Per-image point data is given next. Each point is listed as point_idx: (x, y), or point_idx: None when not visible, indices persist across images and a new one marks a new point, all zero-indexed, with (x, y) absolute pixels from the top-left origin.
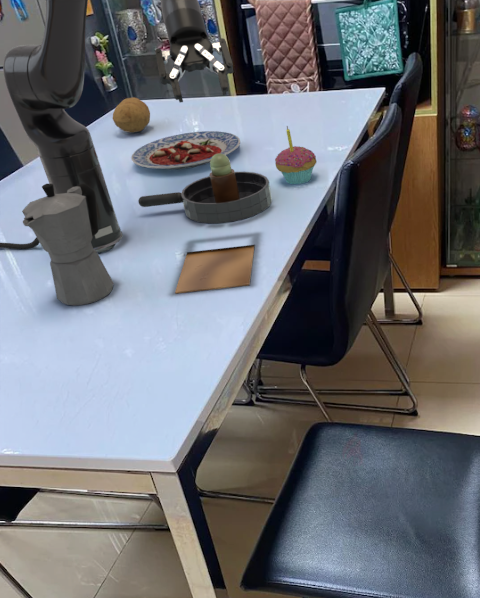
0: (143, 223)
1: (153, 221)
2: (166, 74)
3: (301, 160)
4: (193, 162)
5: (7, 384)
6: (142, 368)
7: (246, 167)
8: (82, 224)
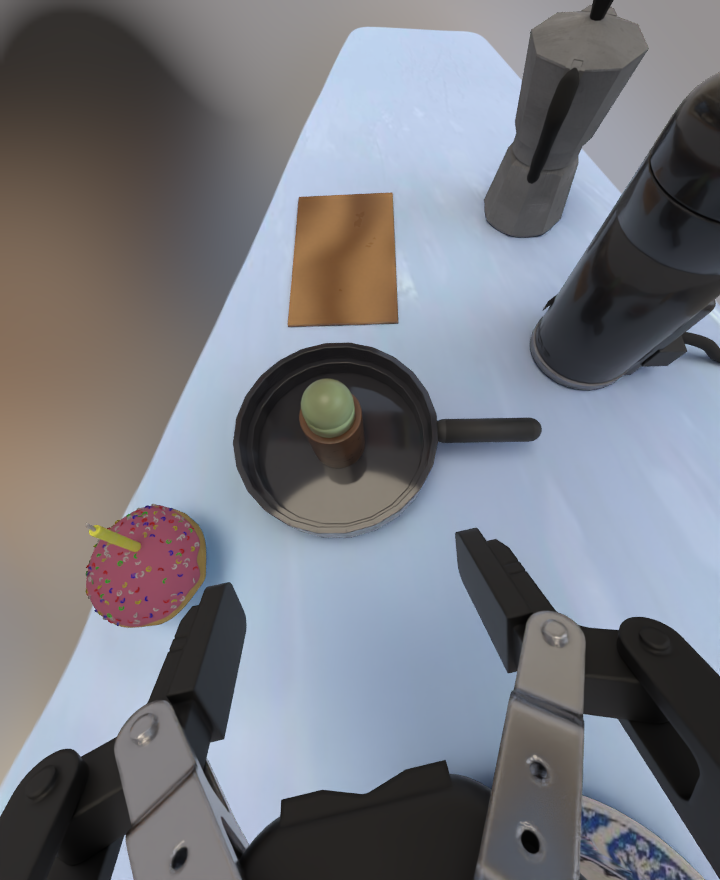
0: None
1: None
2: (622, 668)
3: (131, 515)
4: None
5: None
6: (398, 94)
7: (307, 777)
8: (523, 76)
